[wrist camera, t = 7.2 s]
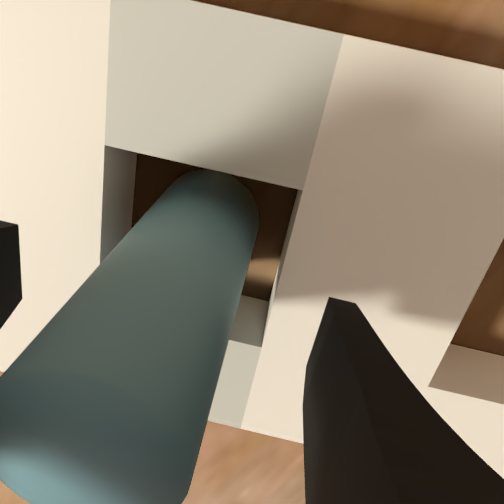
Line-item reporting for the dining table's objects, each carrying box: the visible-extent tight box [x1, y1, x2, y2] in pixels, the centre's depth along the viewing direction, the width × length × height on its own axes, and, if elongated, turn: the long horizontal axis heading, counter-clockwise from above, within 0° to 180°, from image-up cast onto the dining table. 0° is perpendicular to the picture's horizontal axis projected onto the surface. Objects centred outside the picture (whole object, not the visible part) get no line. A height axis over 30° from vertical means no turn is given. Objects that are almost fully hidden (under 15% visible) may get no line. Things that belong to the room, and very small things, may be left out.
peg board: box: [0, 0, 504, 479], centre depth 13 cm, size 22×12×2 cm, turn 79°
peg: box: [0, 169, 259, 504], centre depth 10 cm, size 3×3×9 cm
